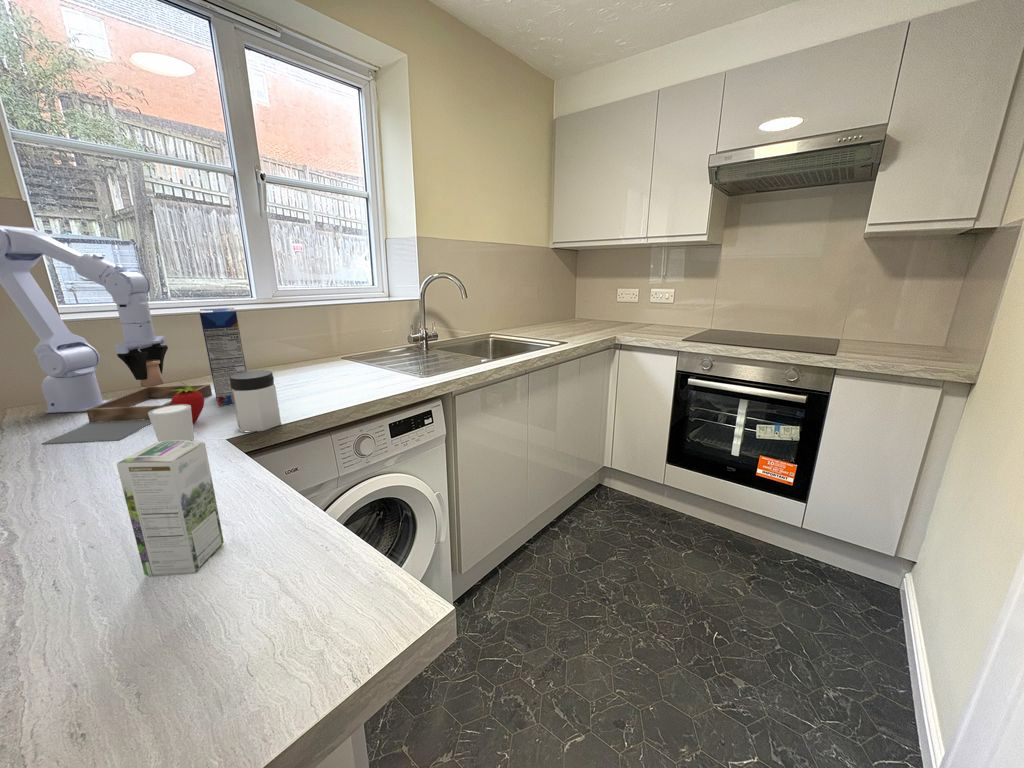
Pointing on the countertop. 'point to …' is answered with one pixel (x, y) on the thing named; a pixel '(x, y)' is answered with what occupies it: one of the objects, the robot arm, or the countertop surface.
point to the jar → (255, 400)
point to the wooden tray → (122, 405)
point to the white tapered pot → (172, 422)
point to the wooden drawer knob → (152, 374)
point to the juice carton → (223, 349)
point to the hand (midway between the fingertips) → (149, 376)
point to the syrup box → (172, 506)
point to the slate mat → (101, 432)
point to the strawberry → (189, 400)
